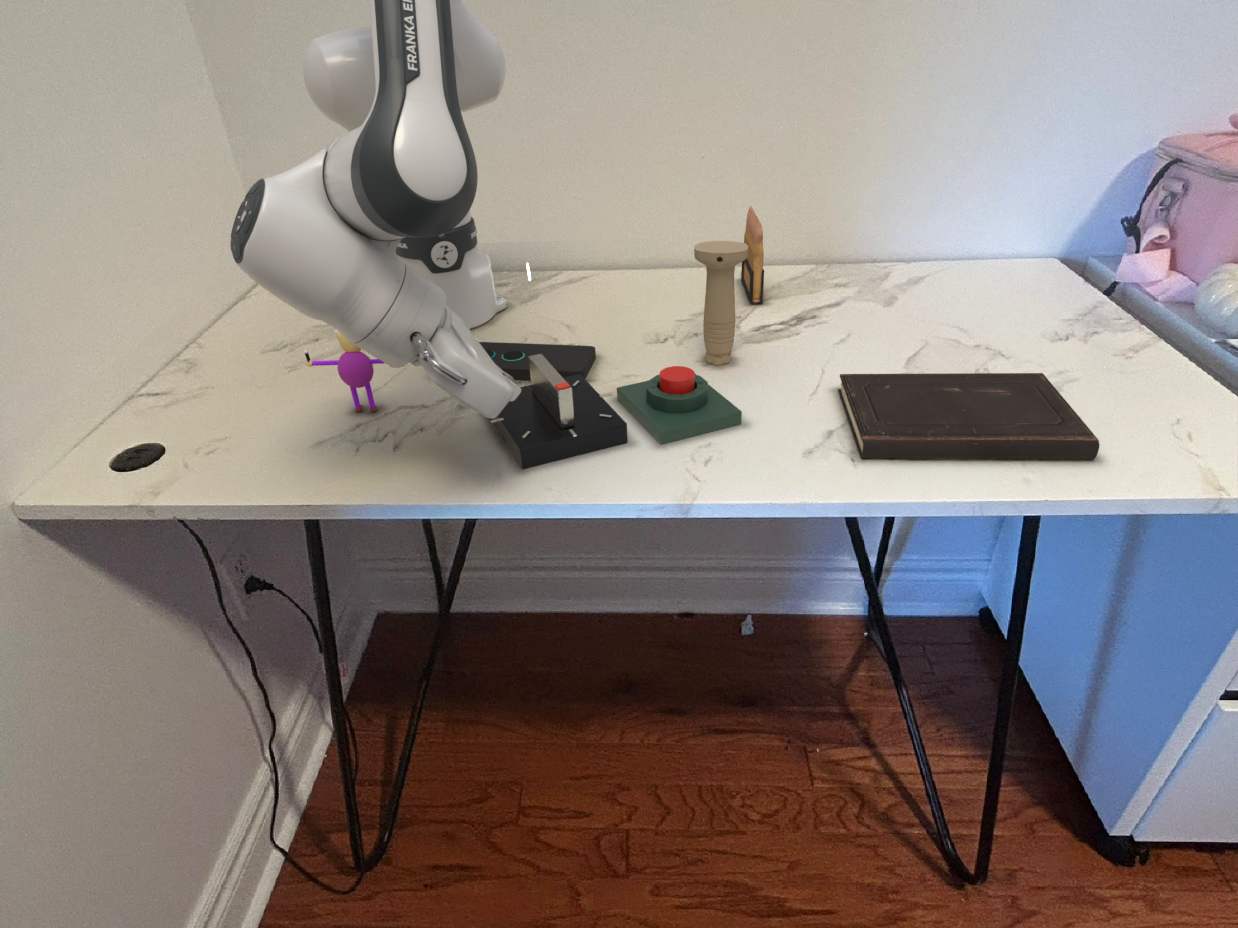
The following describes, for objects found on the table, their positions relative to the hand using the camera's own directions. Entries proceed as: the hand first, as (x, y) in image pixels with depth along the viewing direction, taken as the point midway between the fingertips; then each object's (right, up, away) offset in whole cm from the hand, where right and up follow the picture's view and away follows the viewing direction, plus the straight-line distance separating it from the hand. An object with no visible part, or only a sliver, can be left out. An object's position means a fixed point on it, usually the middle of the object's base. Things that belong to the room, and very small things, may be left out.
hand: (513, 390), depth 86 cm
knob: (+3, -1, +6) cm, 7 cm away
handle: (+24, +5, +21) cm, 32 cm away
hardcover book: (+48, -3, +5) cm, 48 cm away
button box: (+18, -2, +10) cm, 20 cm away
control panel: (+4, -4, +8) cm, 9 cm away
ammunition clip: (+31, +19, +43) cm, 56 cm away
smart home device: (-3, +5, +22) cm, 23 cm away
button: (+17, +1, +8) cm, 19 cm away
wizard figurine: (-19, -2, +13) cm, 23 cm away
